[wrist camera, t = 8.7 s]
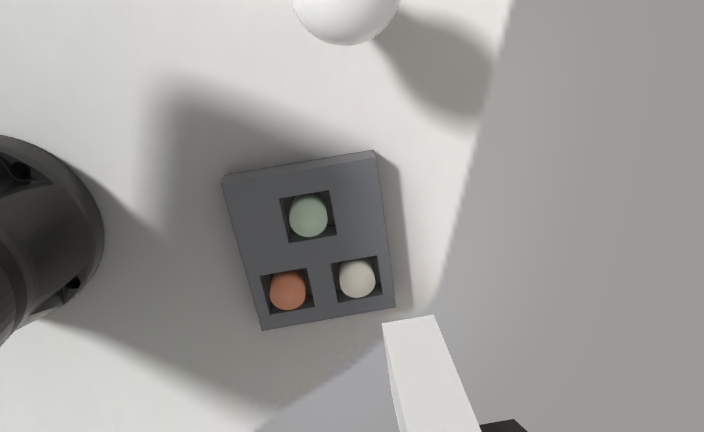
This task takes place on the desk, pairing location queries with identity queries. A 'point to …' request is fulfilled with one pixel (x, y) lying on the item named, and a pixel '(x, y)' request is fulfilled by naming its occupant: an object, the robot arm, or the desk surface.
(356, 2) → the lightbulb
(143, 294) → the desk surface
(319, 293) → the panel
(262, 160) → the desk surface
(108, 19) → the desk surface
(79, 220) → the robot arm
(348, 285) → the cream button
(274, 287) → the rust button
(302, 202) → the sage button
